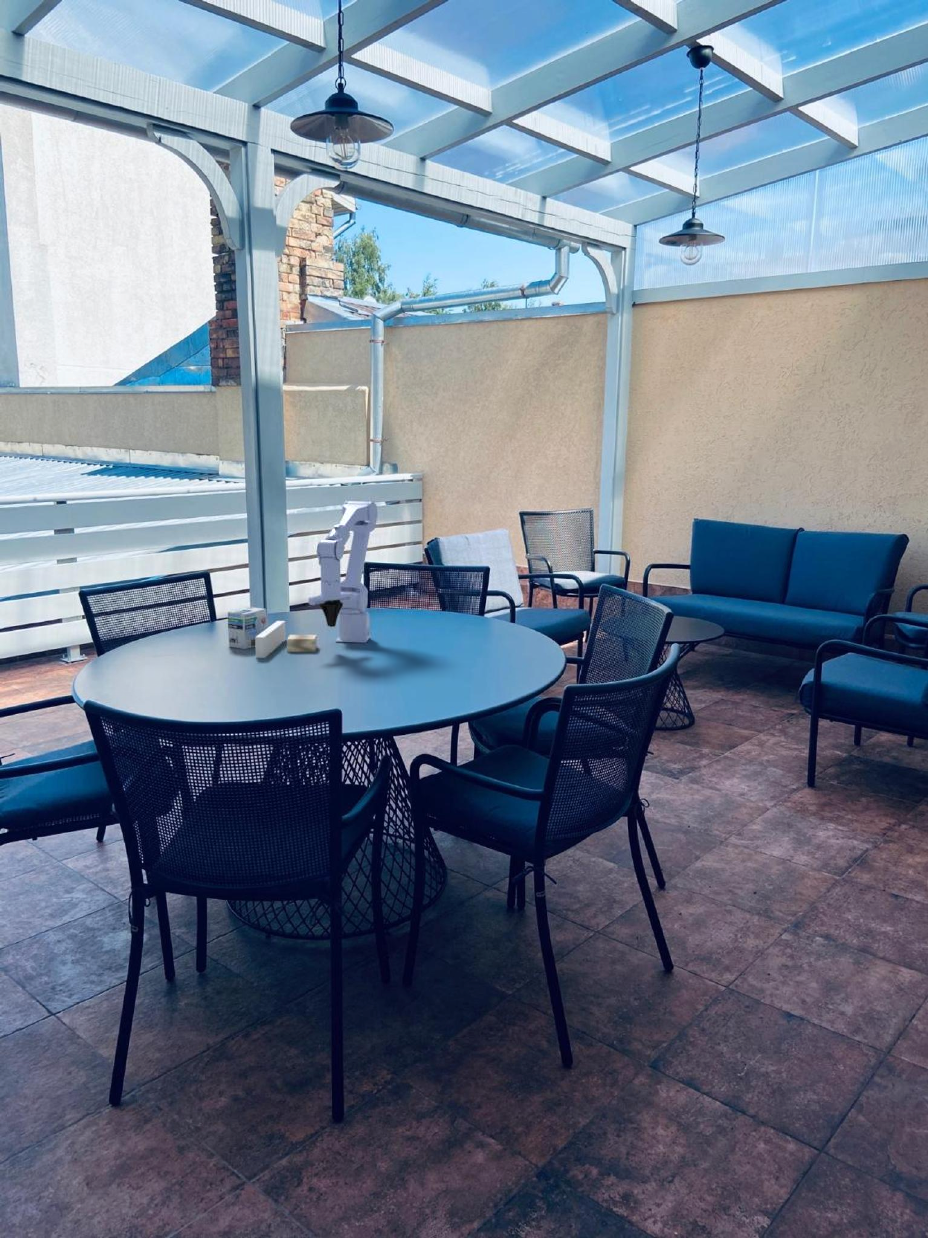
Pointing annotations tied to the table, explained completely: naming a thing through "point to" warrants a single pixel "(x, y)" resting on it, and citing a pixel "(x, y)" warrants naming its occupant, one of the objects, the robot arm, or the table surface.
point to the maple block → (301, 643)
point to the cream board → (270, 639)
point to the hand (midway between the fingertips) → (331, 626)
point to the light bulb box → (246, 626)
